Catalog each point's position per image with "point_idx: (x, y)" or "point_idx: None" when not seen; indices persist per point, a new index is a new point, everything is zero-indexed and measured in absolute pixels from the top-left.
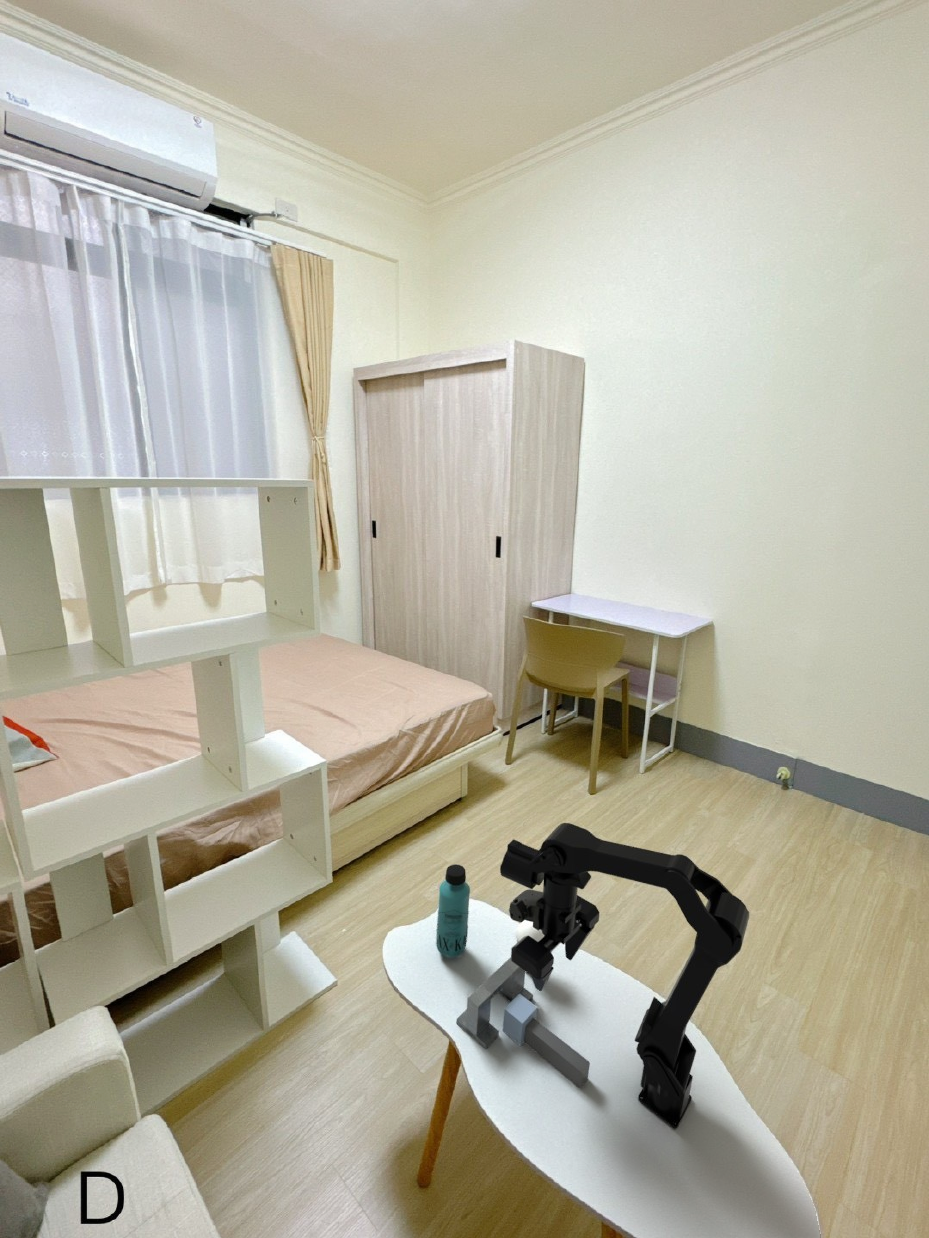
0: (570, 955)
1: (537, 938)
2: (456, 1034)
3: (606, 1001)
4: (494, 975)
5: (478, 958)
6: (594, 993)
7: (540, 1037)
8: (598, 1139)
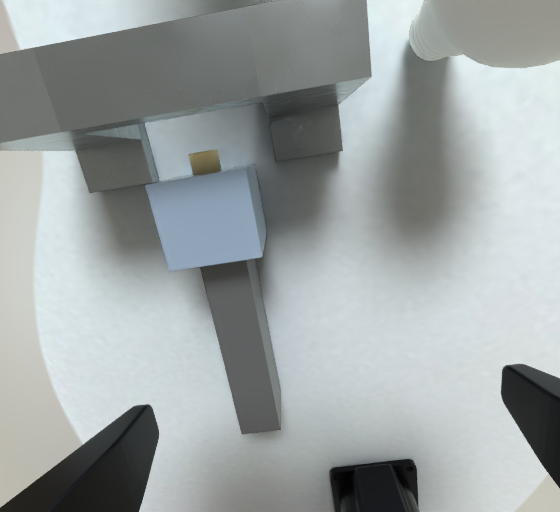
0: (530, 426)
1: (547, 17)
2: None
3: (505, 295)
4: (139, 44)
5: None
6: (506, 257)
7: (214, 311)
8: (204, 463)
